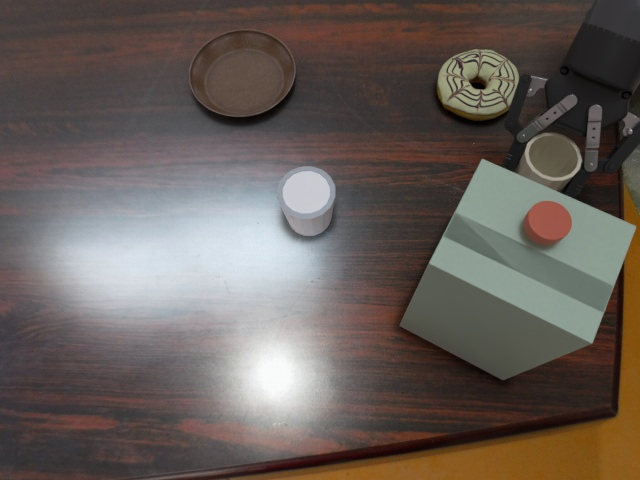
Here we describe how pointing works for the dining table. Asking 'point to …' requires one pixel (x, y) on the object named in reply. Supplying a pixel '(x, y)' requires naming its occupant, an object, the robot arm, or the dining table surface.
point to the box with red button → (516, 277)
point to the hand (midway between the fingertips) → (535, 184)
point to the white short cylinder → (307, 199)
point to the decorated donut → (482, 69)
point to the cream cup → (550, 160)
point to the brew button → (547, 223)
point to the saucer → (242, 72)
